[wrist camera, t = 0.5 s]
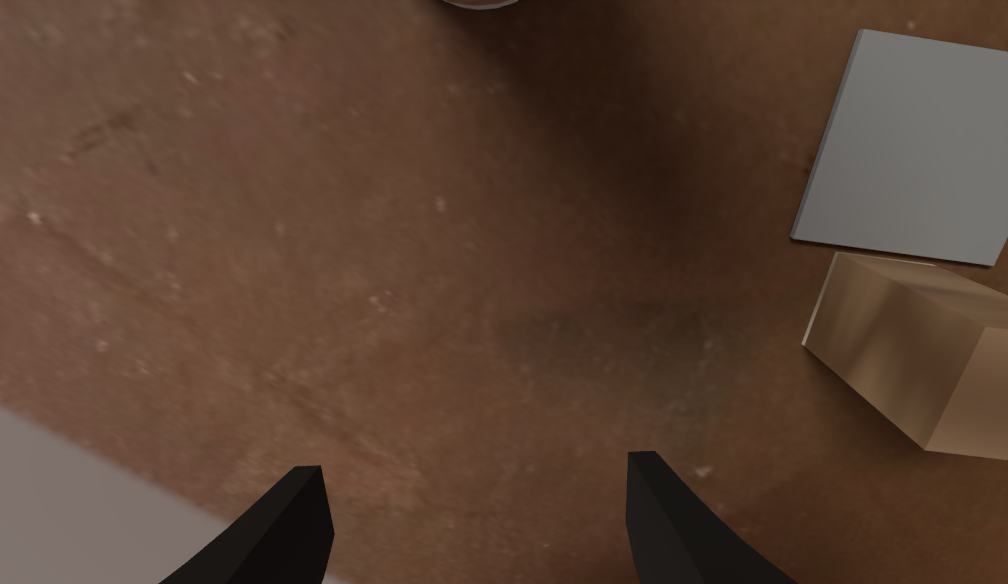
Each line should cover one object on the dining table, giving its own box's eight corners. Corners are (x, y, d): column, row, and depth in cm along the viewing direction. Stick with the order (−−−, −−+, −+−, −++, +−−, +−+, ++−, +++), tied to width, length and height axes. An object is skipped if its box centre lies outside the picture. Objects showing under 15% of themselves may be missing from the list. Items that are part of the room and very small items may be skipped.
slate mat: (987, 263, 21) (993, 265, 21) (789, 236, 21) (793, 238, 21) (1081, 65, 19) (1090, 64, 18) (858, 29, 18) (864, 28, 18)
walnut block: (893, 355, 23) (1052, 465, 16) (801, 343, 23) (924, 450, 16) (933, 264, 21) (1125, 344, 15) (835, 251, 21) (985, 326, 15)
